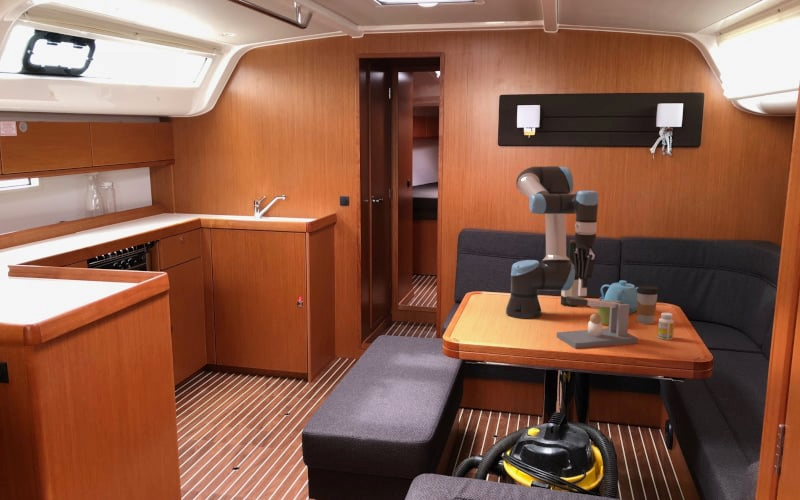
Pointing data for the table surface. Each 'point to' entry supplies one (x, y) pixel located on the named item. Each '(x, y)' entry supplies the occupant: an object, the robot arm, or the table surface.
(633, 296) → the decorative pot
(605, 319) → the plant pot
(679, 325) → the table surface
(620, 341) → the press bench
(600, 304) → the press lever
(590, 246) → the robot arm
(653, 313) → the coffee cup
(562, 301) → the wine bottle
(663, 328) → the supplement bottle
